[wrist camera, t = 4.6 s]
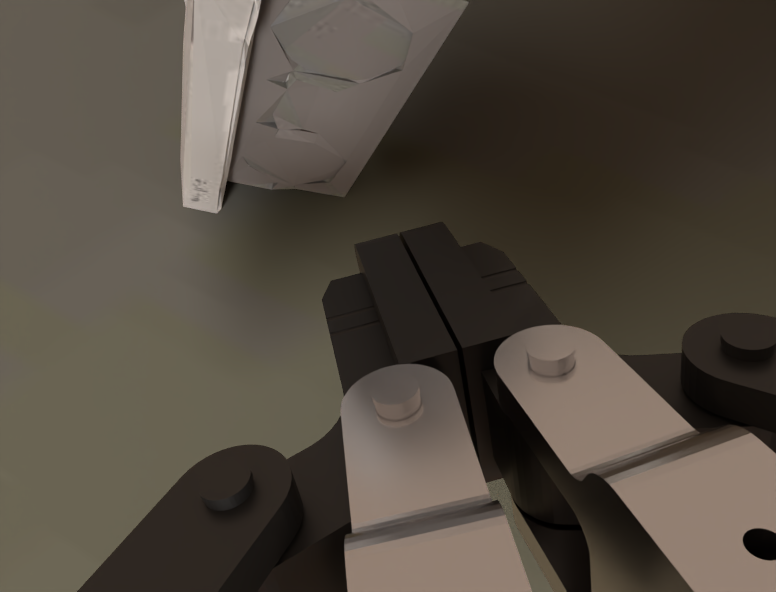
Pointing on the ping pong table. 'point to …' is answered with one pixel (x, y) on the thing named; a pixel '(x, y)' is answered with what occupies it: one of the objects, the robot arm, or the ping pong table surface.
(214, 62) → the electrical switch
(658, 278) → the ping pong table surface
